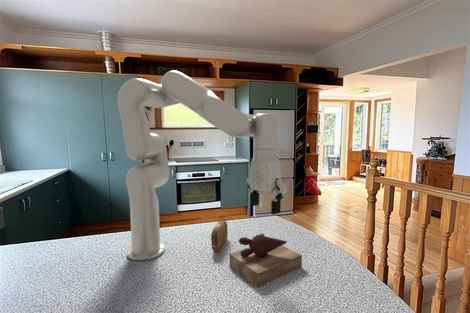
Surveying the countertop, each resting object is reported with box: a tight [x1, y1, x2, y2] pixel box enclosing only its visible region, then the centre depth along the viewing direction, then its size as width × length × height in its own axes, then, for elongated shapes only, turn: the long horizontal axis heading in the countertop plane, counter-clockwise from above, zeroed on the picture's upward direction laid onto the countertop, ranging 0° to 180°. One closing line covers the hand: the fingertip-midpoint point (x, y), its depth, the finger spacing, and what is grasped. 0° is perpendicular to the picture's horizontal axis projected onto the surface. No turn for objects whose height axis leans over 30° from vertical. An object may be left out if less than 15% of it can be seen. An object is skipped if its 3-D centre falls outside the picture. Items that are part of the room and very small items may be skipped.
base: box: [229, 245, 303, 288], centre depth 80 cm, size 14×18×4 cm
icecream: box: [238, 233, 287, 257], centre depth 79 cm, size 7×7×15 cm
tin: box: [210, 220, 229, 252], centre depth 95 cm, size 15×3×8 cm, turn 168°
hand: (264, 209), depth 79 cm, fingers open, 9 cm apart
